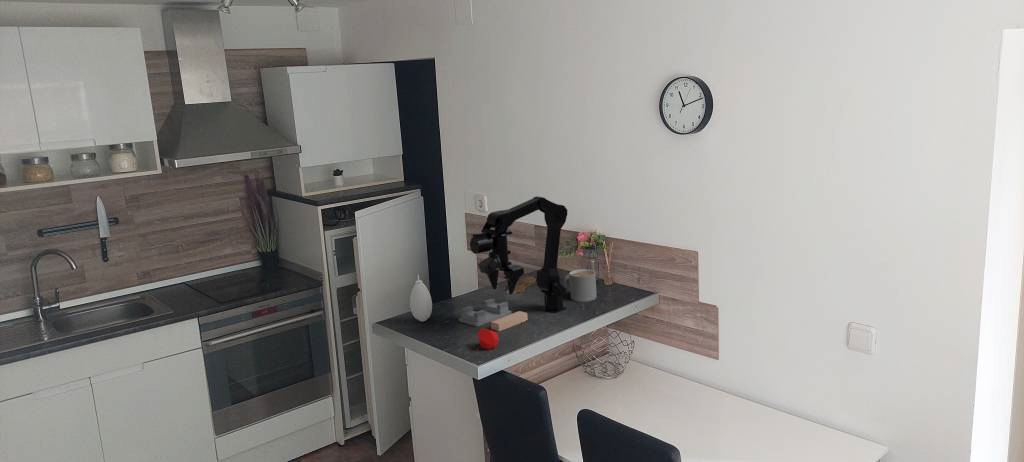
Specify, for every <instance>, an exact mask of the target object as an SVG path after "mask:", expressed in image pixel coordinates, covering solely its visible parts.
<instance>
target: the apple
mask: <svg viewBox="0 0 1024 462" xmlns="http://www.w3.org/2000/svg"><path fill="white" fill-rule="evenodd" d="M477 339H478V341H479V344H480V347H481V349H485V350H492V348H493V349H495V348H497V346H498V343H499V342H500V340H499V335H498V333H497V332H495V331H494V330H492V329H487V328H484V327H483V328H480V331H479V332H477Z"/></svg>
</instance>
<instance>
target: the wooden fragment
mask: <svg viewBox="0 0 1024 462" xmlns="http://www.w3.org/2000/svg"><path fill="white" fill-rule="evenodd" d="M536 279H537V278H535V277H534V276H533V277H530V278H529V276H527V277H524V278H521V279H519V280H518V282H517V284H516V286H515V289H514V291H513V294H518V293H517V292H520V293H524V292H525V291H526V289H528V287H531V286H533V285H535V284H536V283H537V281H536ZM508 294H509V289H508V284H506V295H508ZM509 295H510V294H509Z"/></svg>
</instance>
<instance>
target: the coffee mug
mask: <svg viewBox="0 0 1024 462" xmlns="http://www.w3.org/2000/svg"><path fill="white" fill-rule="evenodd" d="M596 277H597V276H596V272H595V270H593V269H587V268H586V269H585V268H584V269H575V270H572V271H570V272H569V274H568V275H566V276H565V278H564V287H565V288H566V290H568V291H570V293H569V294H570V300H571V301H573V302H580V303H581V302H582V303H585V302H592V301H594V300H595V299H597V283H596V282H597V281H596V280H597V278H596Z"/></svg>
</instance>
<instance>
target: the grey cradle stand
mask: <svg viewBox="0 0 1024 462" xmlns="http://www.w3.org/2000/svg"><path fill="white" fill-rule="evenodd" d="M495 301H496V299H495V298H491V297H490V298H489V299H486V300H483V309H481V310H478V311H475V310H473V308H474V307H473V306H471V305H469V306H465V307H463V308H461V309H460V311H461V317H460V318H458V322H461V323H463V324H466V325H470V326H474V327H478V328H479V327H480V326H483V325H486V324H488V323H491V322H492V321H495V320H497V319H500V318H502V317H505V316H508V315H510V314H513V311H512V310H509V302H507V301H502V302H499V303H497V302H495Z"/></svg>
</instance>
